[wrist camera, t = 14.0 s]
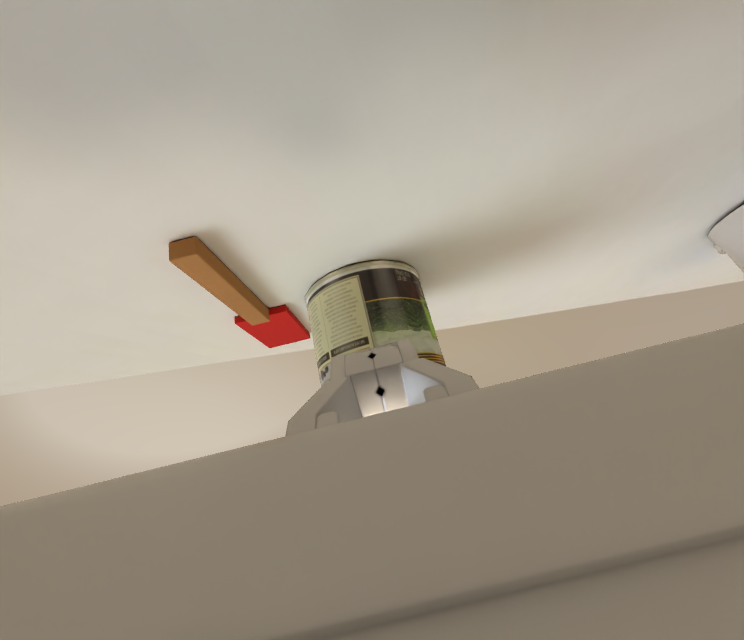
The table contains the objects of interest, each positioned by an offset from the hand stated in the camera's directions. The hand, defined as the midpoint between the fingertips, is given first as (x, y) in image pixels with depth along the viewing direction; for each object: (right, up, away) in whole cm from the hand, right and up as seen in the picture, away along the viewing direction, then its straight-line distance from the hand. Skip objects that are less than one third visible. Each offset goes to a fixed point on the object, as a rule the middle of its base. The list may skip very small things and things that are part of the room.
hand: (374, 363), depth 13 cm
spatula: (-10, +3, +15) cm, 18 cm away
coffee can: (-1, +4, +18) cm, 18 cm away
